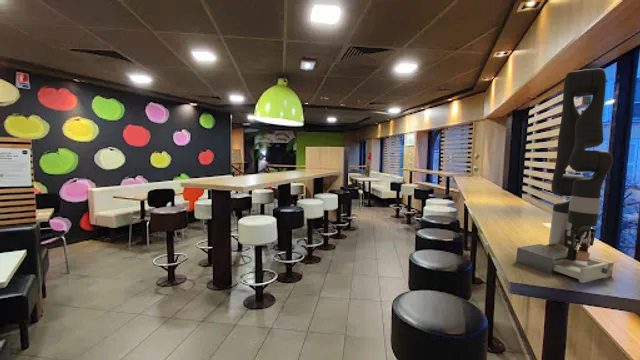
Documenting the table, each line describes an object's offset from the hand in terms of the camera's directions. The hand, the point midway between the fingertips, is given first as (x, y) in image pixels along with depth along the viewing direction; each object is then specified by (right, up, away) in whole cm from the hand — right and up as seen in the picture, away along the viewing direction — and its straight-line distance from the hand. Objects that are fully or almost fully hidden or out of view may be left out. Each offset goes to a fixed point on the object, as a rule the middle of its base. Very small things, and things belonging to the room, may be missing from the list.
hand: (576, 258), depth 99 cm
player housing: (-4, -5, +9) cm, 11 cm away
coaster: (0, 0, 0) cm, 0 cm away
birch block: (+10, -6, +3) cm, 13 cm away
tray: (0, -5, +1) cm, 5 cm away
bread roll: (+7, -5, +18) cm, 20 cm away
